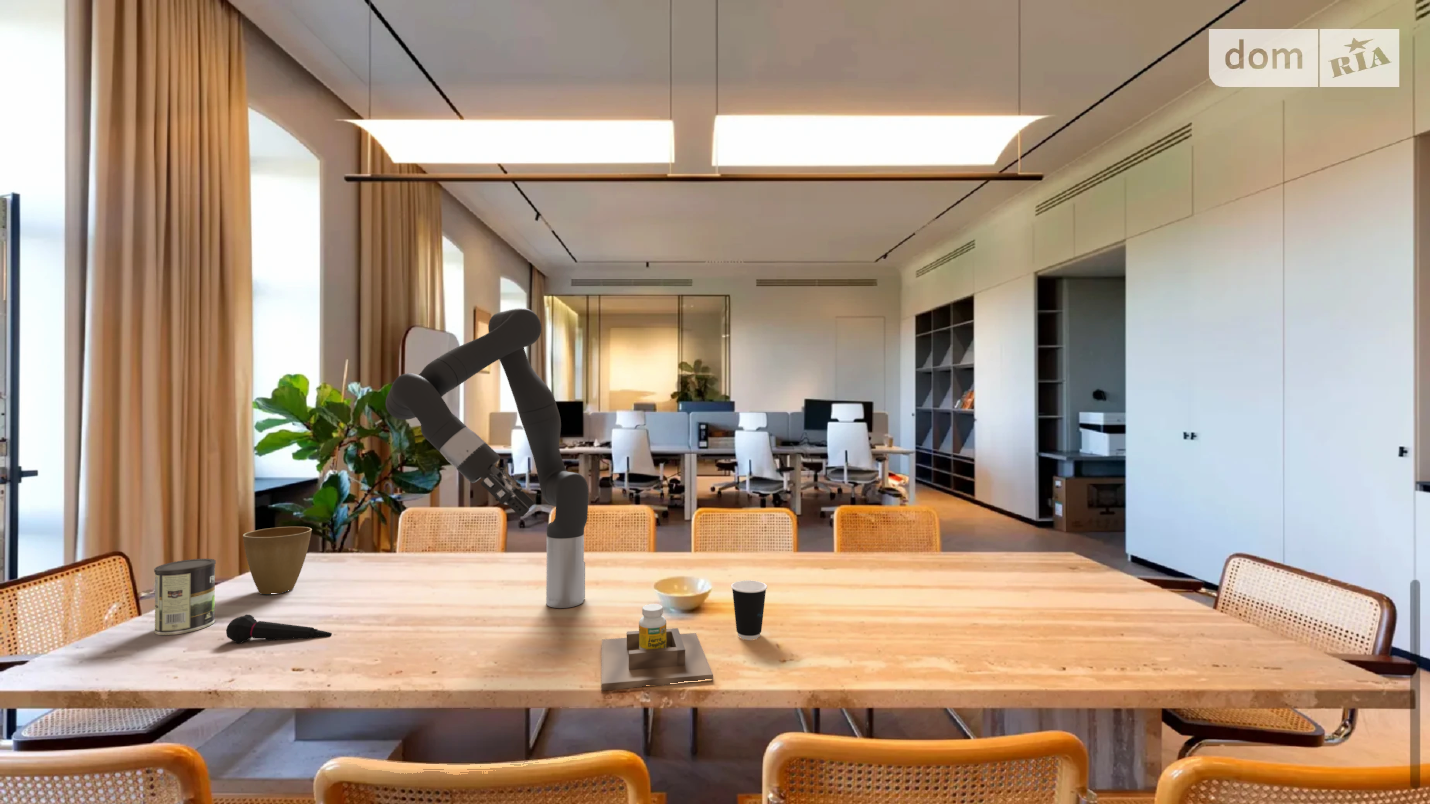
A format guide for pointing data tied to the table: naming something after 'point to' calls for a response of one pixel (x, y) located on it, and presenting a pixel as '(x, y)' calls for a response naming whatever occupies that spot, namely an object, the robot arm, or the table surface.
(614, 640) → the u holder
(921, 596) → the table surface
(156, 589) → the coffee can
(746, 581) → the dixie cup
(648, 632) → the supplement bottle
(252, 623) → the microphone
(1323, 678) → the table surface
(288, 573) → the plant pot
